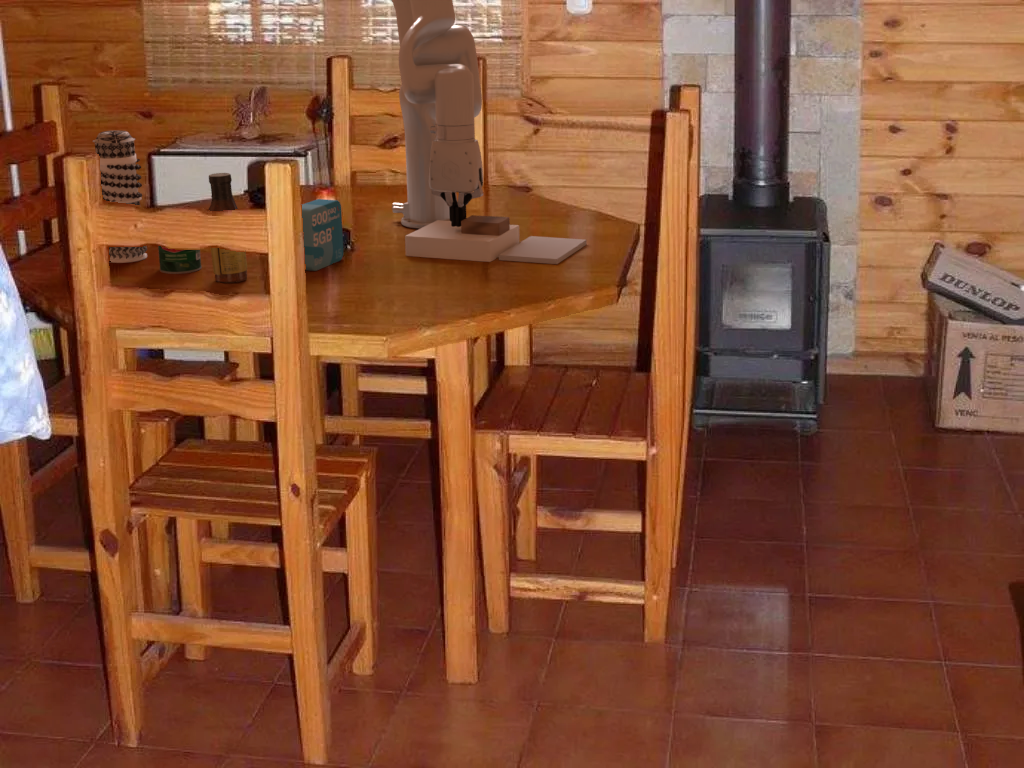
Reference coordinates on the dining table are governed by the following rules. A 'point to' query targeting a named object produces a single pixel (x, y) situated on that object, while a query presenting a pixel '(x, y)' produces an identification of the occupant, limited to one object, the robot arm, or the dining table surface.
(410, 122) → the robot arm
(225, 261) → the sauce bottle
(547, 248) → the mat
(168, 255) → the canned tomato
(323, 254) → the data package
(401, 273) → the dining table surface
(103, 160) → the decorative candle
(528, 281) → the dining table surface
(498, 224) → the tile
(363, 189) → the dining table surface
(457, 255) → the deck
